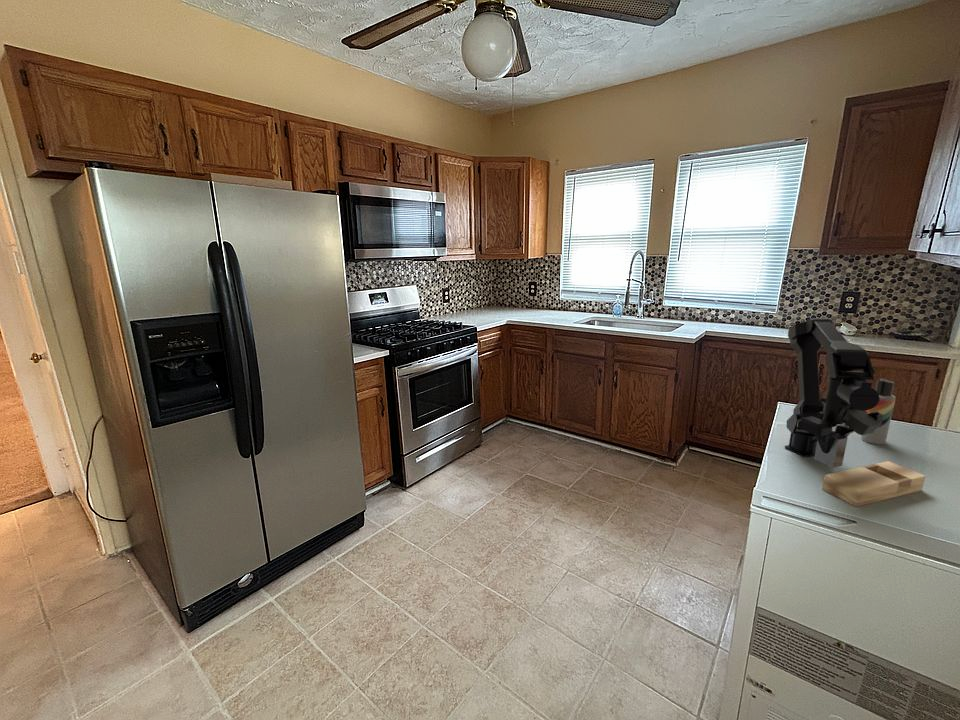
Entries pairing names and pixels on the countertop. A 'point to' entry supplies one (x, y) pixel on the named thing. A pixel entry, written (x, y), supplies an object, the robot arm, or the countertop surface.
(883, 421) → the lotion bottle
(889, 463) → the slotted wooden block
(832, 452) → the grey gripped block
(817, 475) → the countertop surface
